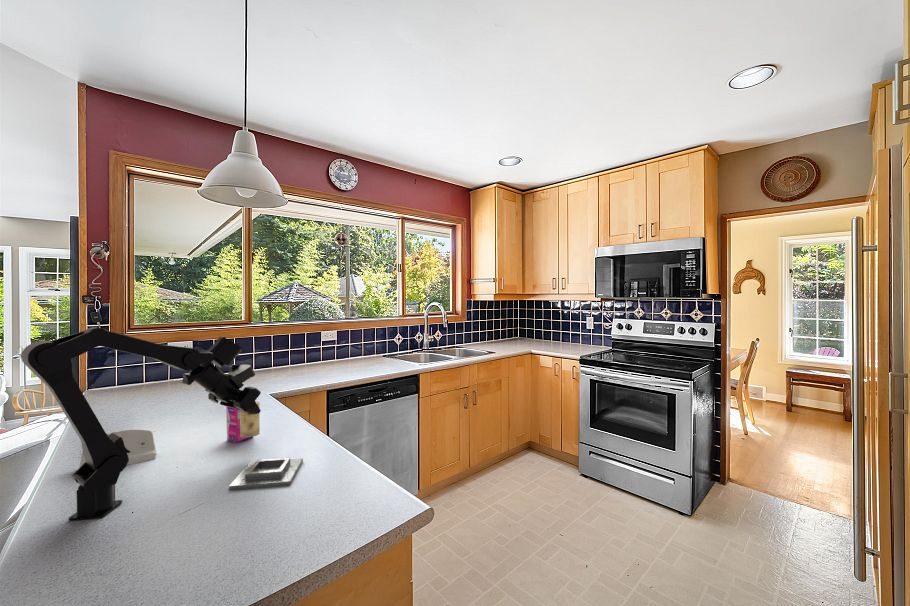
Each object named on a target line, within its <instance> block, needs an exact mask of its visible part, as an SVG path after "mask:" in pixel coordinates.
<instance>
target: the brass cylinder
mask: <svg viewBox="0 0 910 606" xmlns="http://www.w3.org/2000/svg"><path fill="white" fill-rule="evenodd" d="M255 402H256V404H257V405H258V407H259V408H260V402H259V401H255ZM260 415H261V414H260V413H259V414H256V413H252V412H247V411H241V410H240V436H241V437H244V438H247V437H253V438H254V437H256V436H259V435H260V432H261V431H260V429H261V428H260V422H261V421H260V419H261V418H260Z"/></svg>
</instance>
